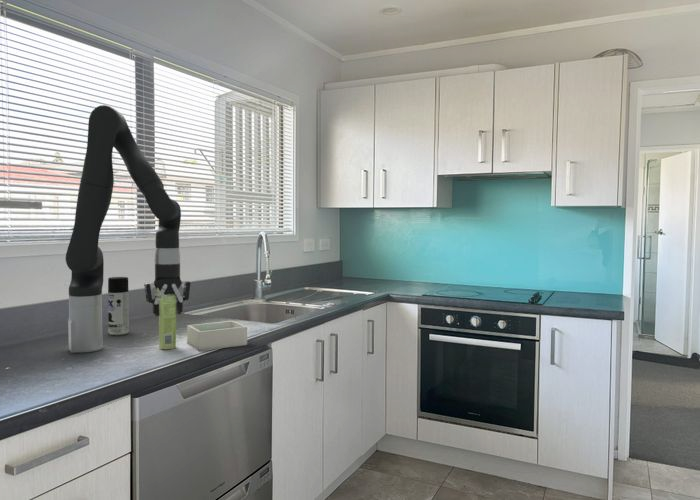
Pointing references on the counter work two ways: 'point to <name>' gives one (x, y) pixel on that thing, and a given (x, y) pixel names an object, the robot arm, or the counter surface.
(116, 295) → the spray can
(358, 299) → the counter surface
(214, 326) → the box
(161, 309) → the tube
